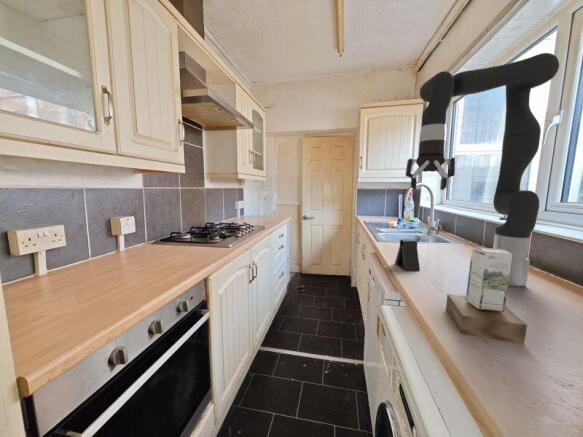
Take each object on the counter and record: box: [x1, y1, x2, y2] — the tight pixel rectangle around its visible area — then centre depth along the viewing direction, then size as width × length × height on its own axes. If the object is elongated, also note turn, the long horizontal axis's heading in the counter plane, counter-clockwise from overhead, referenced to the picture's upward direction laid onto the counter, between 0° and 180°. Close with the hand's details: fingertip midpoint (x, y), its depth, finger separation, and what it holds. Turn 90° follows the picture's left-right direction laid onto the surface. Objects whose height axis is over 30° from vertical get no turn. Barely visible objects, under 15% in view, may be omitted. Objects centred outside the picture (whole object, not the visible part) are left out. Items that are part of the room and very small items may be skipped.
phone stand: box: [394, 239, 421, 272], centre depth 102 cm, size 9×6×12 cm, turn 4°
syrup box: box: [465, 246, 512, 312], centre depth 60 cm, size 6×6×14 cm
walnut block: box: [445, 293, 528, 345], centre depth 61 cm, size 12×12×5 cm
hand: (427, 189), depth 83 cm, fingers open, 8 cm apart
